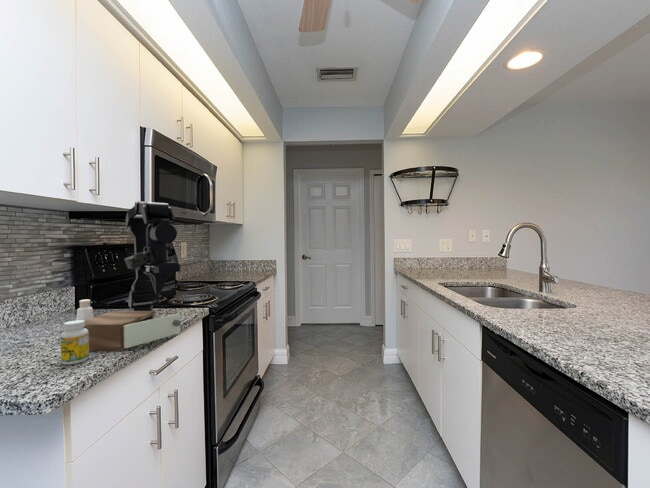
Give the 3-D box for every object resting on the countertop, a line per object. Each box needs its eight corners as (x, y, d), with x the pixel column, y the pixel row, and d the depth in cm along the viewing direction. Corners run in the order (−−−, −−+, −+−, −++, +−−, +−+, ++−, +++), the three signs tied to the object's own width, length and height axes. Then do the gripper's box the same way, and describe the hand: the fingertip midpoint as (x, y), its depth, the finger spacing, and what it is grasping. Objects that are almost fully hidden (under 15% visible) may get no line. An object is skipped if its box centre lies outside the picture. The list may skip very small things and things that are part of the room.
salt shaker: (82, 338, 94) (82, 302, 94) (69, 336, 95) (69, 301, 95) (100, 333, 99) (99, 298, 99) (87, 331, 101) (87, 298, 101)
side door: (178, 332, 97) (178, 313, 97) (182, 333, 96) (182, 314, 96) (123, 347, 83) (123, 325, 83) (127, 349, 82) (127, 326, 82)
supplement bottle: (94, 357, 78) (94, 319, 78) (74, 365, 73) (73, 325, 73) (76, 356, 79) (75, 318, 79) (54, 364, 74) (54, 324, 74)
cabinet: (111, 332, 99) (111, 311, 99) (155, 332, 99) (155, 310, 99) (70, 350, 83) (70, 324, 83) (122, 350, 83) (122, 324, 83)
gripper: (116, 243, 95) (117, 294, 95) (139, 243, 83) (140, 302, 83) (155, 243, 104) (156, 289, 104) (181, 243, 91) (181, 296, 92)
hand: (157, 294), depth 95 cm, fingers closed
